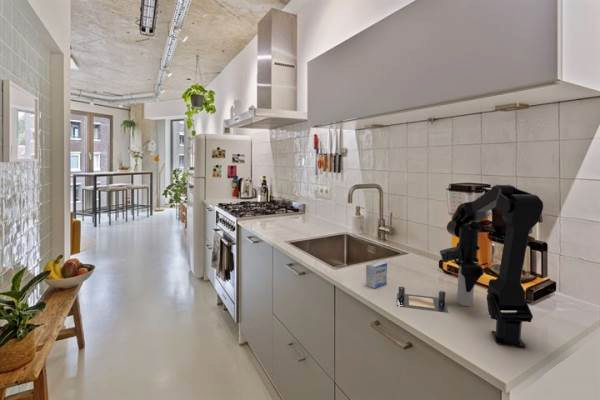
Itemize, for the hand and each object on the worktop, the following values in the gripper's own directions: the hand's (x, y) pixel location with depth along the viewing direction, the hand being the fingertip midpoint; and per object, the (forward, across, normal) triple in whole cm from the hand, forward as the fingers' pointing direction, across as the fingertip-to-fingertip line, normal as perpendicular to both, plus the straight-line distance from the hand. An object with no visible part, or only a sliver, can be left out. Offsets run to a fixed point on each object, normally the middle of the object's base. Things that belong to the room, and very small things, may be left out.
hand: (465, 286), depth 111 cm
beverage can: (+6, 0, 0) cm, 6 cm away
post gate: (+7, +3, -14) cm, 16 cm away
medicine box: (+6, -9, -30) cm, 32 cm away
